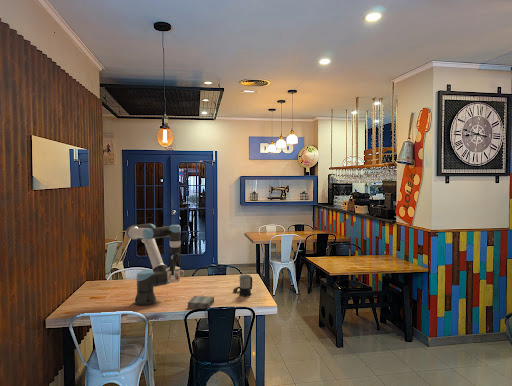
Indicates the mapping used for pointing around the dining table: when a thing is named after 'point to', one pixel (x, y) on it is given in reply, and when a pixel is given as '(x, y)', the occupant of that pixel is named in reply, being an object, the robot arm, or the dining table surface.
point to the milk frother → (244, 285)
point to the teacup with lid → (177, 274)
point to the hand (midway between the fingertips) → (175, 277)
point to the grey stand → (200, 302)
